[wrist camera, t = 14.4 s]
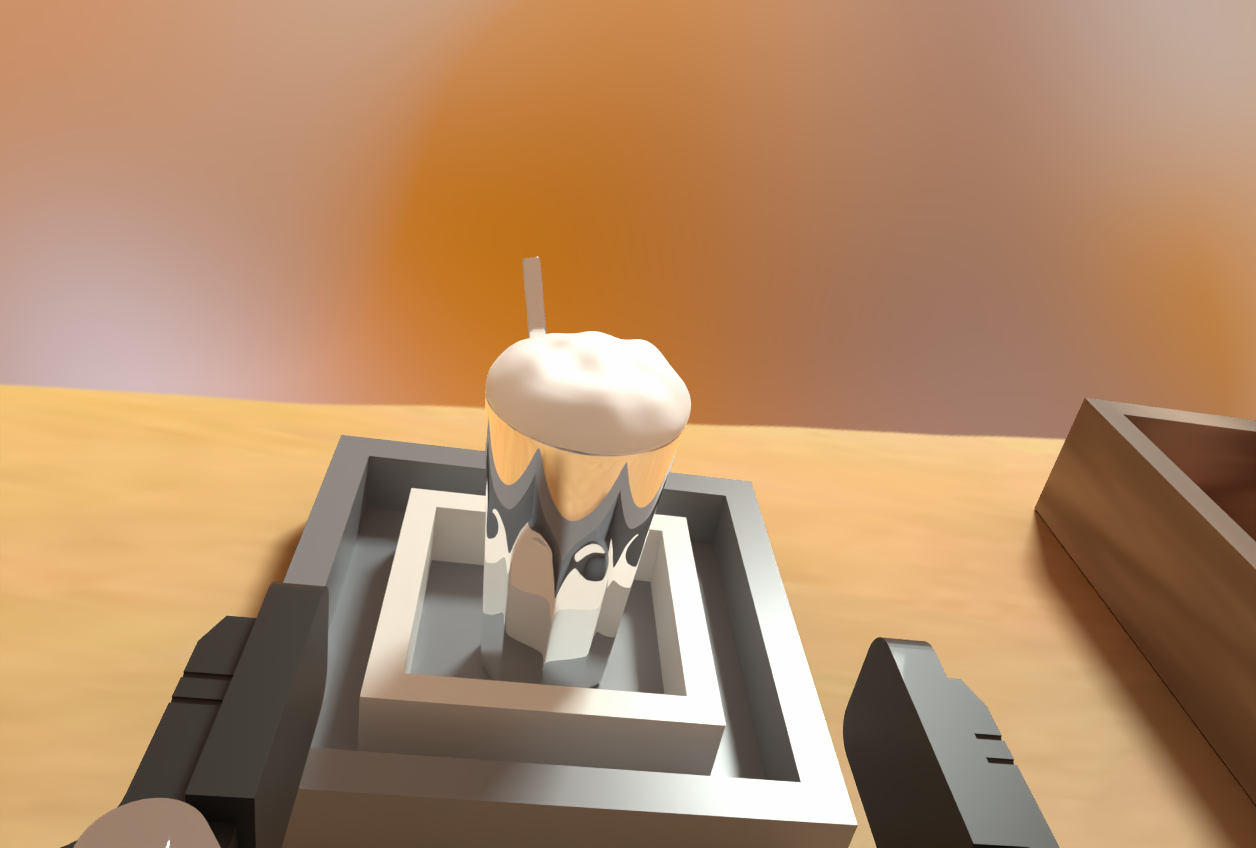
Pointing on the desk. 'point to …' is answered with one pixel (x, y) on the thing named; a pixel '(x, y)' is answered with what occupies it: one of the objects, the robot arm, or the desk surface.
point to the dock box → (547, 714)
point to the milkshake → (569, 493)
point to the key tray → (1171, 552)
